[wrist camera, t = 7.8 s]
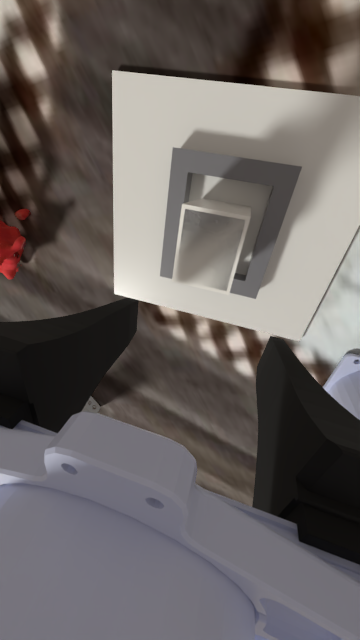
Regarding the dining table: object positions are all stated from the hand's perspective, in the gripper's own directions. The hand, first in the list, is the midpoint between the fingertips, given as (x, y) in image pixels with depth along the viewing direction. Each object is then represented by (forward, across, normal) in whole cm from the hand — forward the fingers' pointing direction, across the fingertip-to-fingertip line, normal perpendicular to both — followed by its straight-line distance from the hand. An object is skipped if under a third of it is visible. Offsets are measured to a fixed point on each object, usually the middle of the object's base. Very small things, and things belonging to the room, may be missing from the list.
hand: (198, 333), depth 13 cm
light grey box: (+9, +1, -4) cm, 10 cm away
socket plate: (+9, +1, -4) cm, 10 cm away
